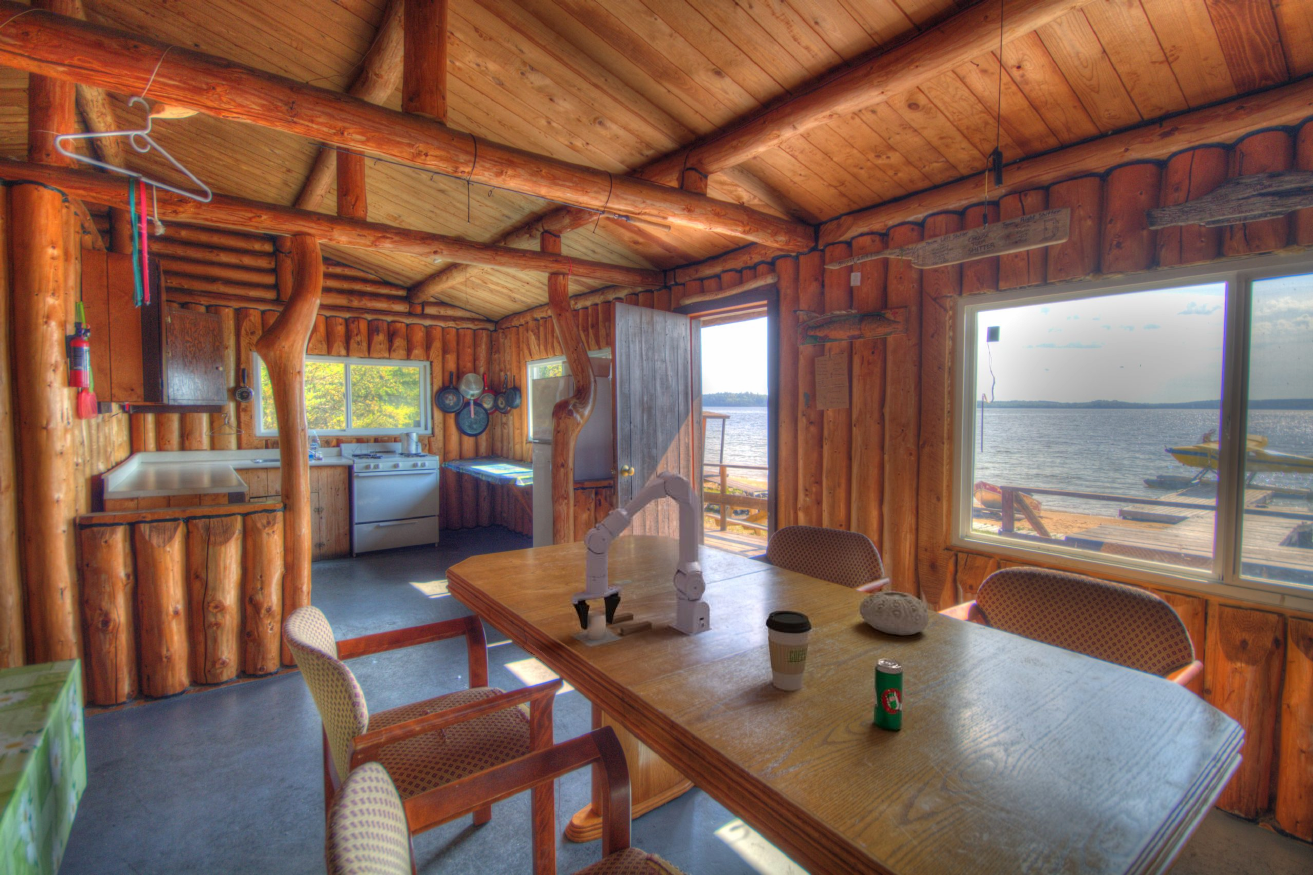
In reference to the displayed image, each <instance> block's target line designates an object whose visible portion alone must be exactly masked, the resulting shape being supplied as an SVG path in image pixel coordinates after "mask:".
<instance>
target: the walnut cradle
mask: <svg viewBox="0 0 1313 875" xmlns="http://www.w3.org/2000/svg"><path fill="white" fill-rule="evenodd" d="M652 624H653V623H652V622H651V621H648V620H647V621H645V620H644V621H642V622H638V621H637V620H634V614H633V613H632V612H625V613H620V614H615V615H614V617H613V621H612V624H609V623H607V622H606V628H607V627H608V628H609V629H610V630H613V631H615V632H616V633H619V634H620V635H622V636H625V637H626V636H630V635H632V634H633V635H634V634H636V633H640V632H644V631H649V630H652V628H653V627H652V626H653V625H652Z"/></svg>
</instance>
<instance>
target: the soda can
mask: <svg viewBox="0 0 1313 875" xmlns="http://www.w3.org/2000/svg"><path fill="white" fill-rule="evenodd" d="M873 679H874V688H873V690H874V692H873V722H874V723H875V725H876V726H877V727H879V728H880V729H882V730H885V731H890V732H891V731H893V732H894V731H898V730H899V729H900V728H901V727H902V726H903V705H904V704H903V701H904V698H903V697H904V696H903V695H904V669H903V668H902V663H900V662H899V661H897V660H894V659H892V658H880V659H877V661H876V664H875V665H874V677H873Z"/></svg>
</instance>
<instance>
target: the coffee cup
mask: <svg viewBox="0 0 1313 875" xmlns="http://www.w3.org/2000/svg"><path fill="white" fill-rule="evenodd" d="M765 626H766V627H767V633H768V636H767V639H768V650H769V651H768V652H769V659H770V661H769V662H770V668H771V674H772V683H773V686H774V687H775V688H777V689H780V690H783V691H791V692H792V691H798V690H800V689H801V688H802V687H803V680H804V674H805V670H806V669H805V668H806V664H807V655H808V648H809V647H808V646H809V634H810V631H811V630H812V623H811V622H810V620H809V617H808V616H807V615H806V614H804V613H802V612H798V611H793V610H776V611H772V612H770V613H769V614H768V618H767V619H766V620H765Z"/></svg>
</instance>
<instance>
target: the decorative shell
mask: <svg viewBox="0 0 1313 875" xmlns="http://www.w3.org/2000/svg"><path fill="white" fill-rule="evenodd" d="M928 613H929V612H928V609H927V607H926V606H925V604H924V603H923V601H922V600H921V599H918V597H916V596H915V595H913V594H911V593H908V592H905V591H901V592H900V591H894V590H882V591H881V590H880V591H878V592H874V593H871V594H870V595H868V596H865V598H863V600H862V601H861V603H860V605H859V614H860V615H861V618H862V620H864V622H866V623H867V624H868V625H870V626H871V628H874V629H876V630H878V631H879V632H882V633H886V634H889V635H898V636H910V635H915V634H916V633H920V632H922V631H924V630H925V629H926V627H927V626H928V624H929V623H928V622H929V614H928Z"/></svg>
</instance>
